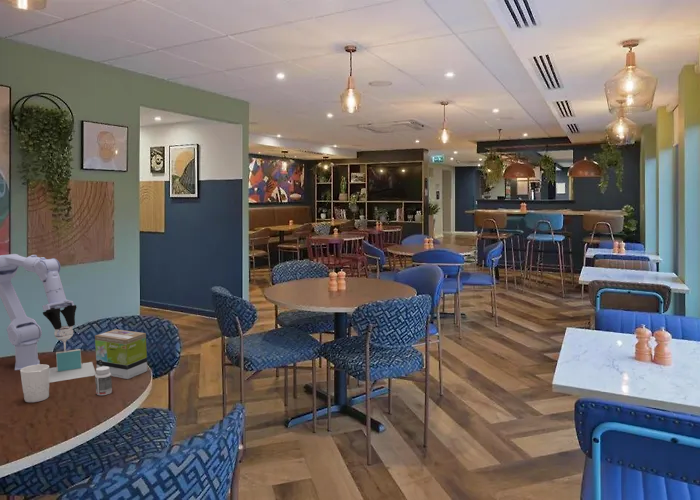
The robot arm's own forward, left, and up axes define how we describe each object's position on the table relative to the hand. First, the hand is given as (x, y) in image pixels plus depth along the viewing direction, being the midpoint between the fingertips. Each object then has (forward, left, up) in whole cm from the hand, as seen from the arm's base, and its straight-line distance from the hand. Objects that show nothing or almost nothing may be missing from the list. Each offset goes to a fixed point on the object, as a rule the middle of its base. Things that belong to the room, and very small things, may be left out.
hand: (65, 327), depth 191 cm
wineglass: (-24, 0, -17) cm, 30 cm away
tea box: (+9, +17, -17) cm, 26 cm away
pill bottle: (+28, +9, -17) cm, 34 cm away
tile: (-4, +1, -17) cm, 17 cm away
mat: (-1, +1, -17) cm, 17 cm away
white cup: (+22, -10, -17) cm, 29 cm away
